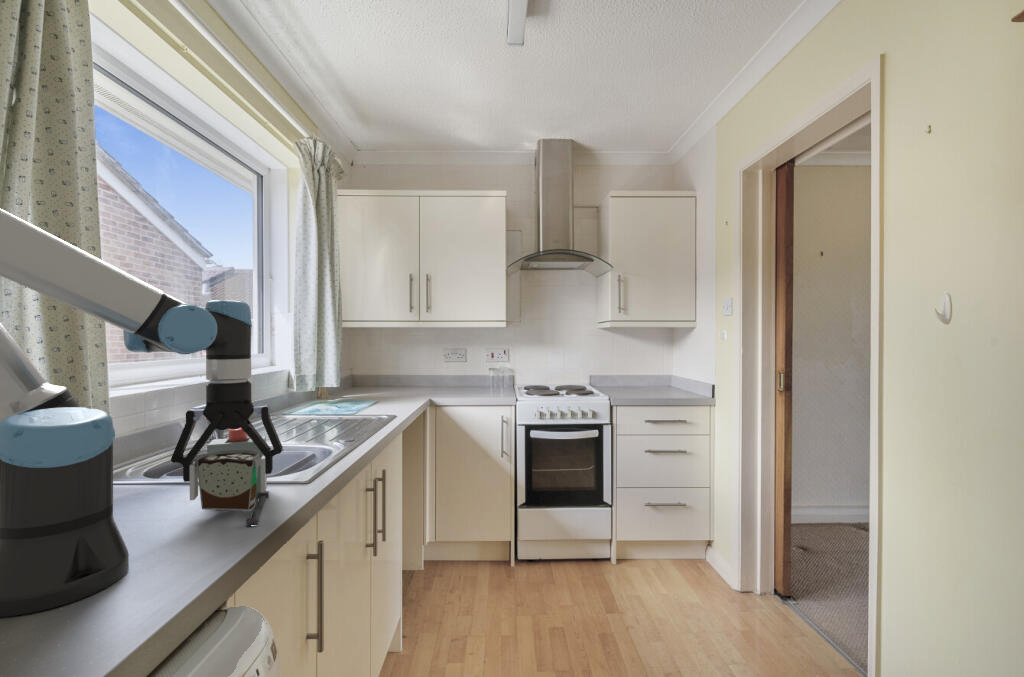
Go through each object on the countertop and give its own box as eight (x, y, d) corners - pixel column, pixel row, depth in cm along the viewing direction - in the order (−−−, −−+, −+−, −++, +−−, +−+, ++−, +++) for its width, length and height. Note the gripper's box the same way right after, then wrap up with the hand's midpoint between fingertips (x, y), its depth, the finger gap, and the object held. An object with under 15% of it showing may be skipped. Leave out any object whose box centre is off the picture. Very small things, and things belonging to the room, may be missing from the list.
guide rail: (246, 527, 84) (246, 520, 84) (259, 497, 99) (259, 491, 99) (257, 525, 84) (257, 519, 84) (268, 496, 100) (268, 490, 100)
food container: (276, 499, 93) (275, 448, 93) (256, 510, 87) (256, 456, 87) (217, 497, 94) (216, 448, 94) (194, 509, 88) (193, 455, 88)
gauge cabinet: (206, 504, 95) (206, 445, 95) (213, 495, 100) (213, 439, 100) (262, 498, 98) (262, 441, 98) (265, 490, 104) (265, 436, 104)
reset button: (227, 442, 97) (227, 431, 97) (230, 439, 101) (230, 428, 101) (245, 441, 99) (245, 429, 99) (248, 438, 102) (248, 427, 102)
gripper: (296, 377, 99) (297, 481, 99) (162, 381, 90) (163, 495, 90) (294, 380, 92) (295, 492, 92) (148, 385, 83) (149, 508, 83)
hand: (229, 494), depth 91 cm, fingers closed on food container, 11 cm apart
